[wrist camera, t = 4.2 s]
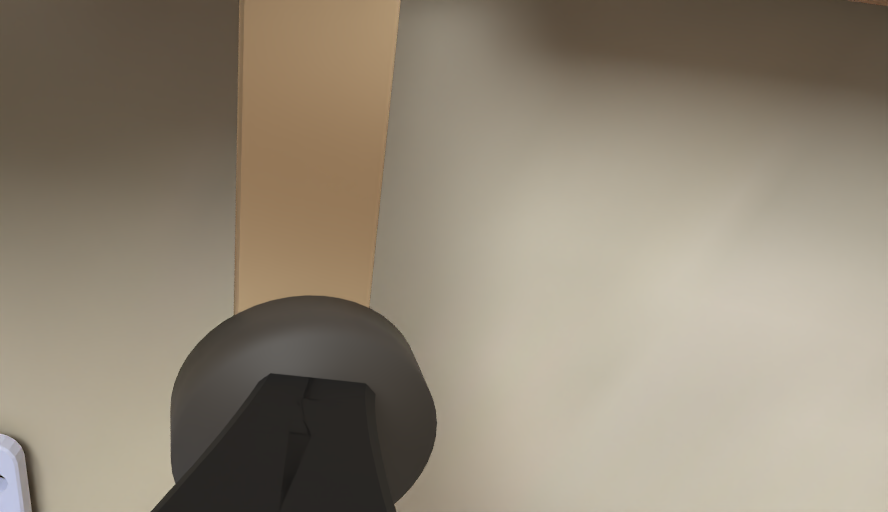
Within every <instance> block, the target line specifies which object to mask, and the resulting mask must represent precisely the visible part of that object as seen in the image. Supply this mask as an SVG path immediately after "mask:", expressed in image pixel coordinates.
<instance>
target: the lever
mask: <svg viewBox="0 0 888 512" xmlns="http://www.w3.org/2000/svg"><path fill="white" fill-rule="evenodd" d="M400 2H401V0H239V44H238V104H237V163H236V222H235V281H234V316H232V317H231V318H229V319H227V320H226V321H224V322H222V323H221V324H220V325H218V326H217V327H216V328H214V329H213V330H212V331H210V332H209V333H208V334H207V335H206V336H205V337H204V338H203V339H202V340H201V341H200V342H199V343H198V344H197V345H196V346H195V348H194V349H193V350H192V351H191V353H190V354H189V355H188V357H187V358H186V360H185V362H184V363H183V365H182V367H181V369H180V371H179V373H178V376H177V378H176V381H175V383H174V387H173V392H172V396H171V465H172V473H173V477H174V480H175V483H177V482H178V481H179V480H180V479H181V478H182V476H183V475H184V474H185V473H186V472H187V471H188V470H189V469H190V468H191V467H192V465H193V464H194V463H195V462H196V461H197V460H198V459H199V457H200V456H201V455H202V454H203V453H204V452H205V450H206V449H207V448H208V447H209V446H210V444H211V443H212V442H213V441H214V440H215V438H216V437H217V436H218V435H219V434H220V432H221V431H222V430H223V429H224V427H225V426H226V425H227V424H228V422H229V421H230V420H231V419H232V417H233V416H234V415H235V413H236V412H237V411H238V410H239V408H240V407H241V406H242V404H243V403H244V402H245V400H246V399H247V398H248V396H249V395H250V393H251V392H252V391H253V389H254V388H255V386H256V385H257V383H258V382H259V381H260V380H262V379H263V378H264V377H266V376H267V375H269V374H270V373H274V374H283V375H293V376H302V377H312V378H321V379H331V380H340V381H349V382H359V383H366V384H367V385H368V386H369V387H370V388H371V389H372V391H373V392H374V393H375V394H376V395H375V413H376V424H377V432H378V438H379V444H380V449H381V454H382V459H383V463H384V468H385V472H386V477H387V481H388V485H389V488H390V492H391V496H392V500H393V503H394V504H395V503H396V502H397V501H398V500H399V499H400V498H401V497H402V496H403V495H404V494H405V493H406V492H407V491H408V490H409V489H410V488H411V487H412V485H413V484H414V483H415V481H416V480H417V479H418V477H419V476H420V474H421V473H422V471H423V469H424V467H425V466H426V464H427V462H428V460H429V457H430V455H431V452H432V449H433V446H434V441H435V437H436V426H437V420H436V410H435V406H434V402H433V398H432V396H431V394H430V391H429V389H428V387H427V384H426V382H425V380H424V378H423V375H422V373H421V371H420V368H419V366H418V364H417V361H416V359H415V357H414V355H413V352H412V350H411V348H410V346H409V344H408V342H407V341H406V339H405V338H404V336H403V335H402V333H401V332H400V331H399V330H398V329H397V328H396V327H395V326H394V325H393V324H392V323H391V322H390V321H388V320H387V319H386V318H385V317H383V316H382V315H381V314H379V313H377V312H375V311H374V310H372V309H370V308H369V303H370V293H371V284H372V274H373V264H374V254H375V245H376V235H377V225H378V216H379V206H380V196H381V186H382V177H383V167H384V157H385V148H386V138H387V128H388V118H389V109H390V99H391V89H392V79H393V70H394V60H395V50H396V41H397V31H398V21H399V11H400Z"/></svg>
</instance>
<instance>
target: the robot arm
mask: <svg viewBox="0 0 888 512" xmlns="http://www.w3.org/2000/svg"><path fill="white" fill-rule="evenodd" d="M375 395H376V394H375V393H374V392H373V391H372V389H371V388H370V387H369V386H368V385H367V384H366V383H359V382H349V381H340V380H331V379H321V378H312V377H302V376H293V375H283V374H274V373H270V374H269V375H267V376H266V377H264V378H263V379H262V380H260V381H259V382H258V383H257V385H256V386H255V388H254V389H253V391H252V392H251V393H250V395H249V396H248V398H247V399H246V400H245V402H244V403H243V404H242V406H241V407H240V408H239V410H238V411H237V412H236V413H235V415H234V416H233V417H232V419H231V420H230V421H229V422H228V424H227V425H226V426H225V427H224V429H223V430H222V431H221V432H220V434H219V435H218V436H217V437H216V438H215V440H214V441H213V442H212V443H211V444H210V446H209V447H208V448H207V449H206V450H205V452H204V453H203V454H202V455H201V456H200V457H199V459H198V460H197V461H196V462H195V463H194V464H193V465H192V467H191V468H190V469H189V470H188V471H187V472H186V473H185V474H184V475H183V476H182V478H181V479H180V480H179V481H178V482H177V483H176V484H175V485H174V486H173V488H172V489H171V490H170V491H169V492H168V493H167V494H166V495H165V496H164V498H163V499H162V500H161V501H160V502H159V503H158V504H157V505H156V506H155V508H154V509H153V510H152V511H151V512H396V509H395V506H394V503H393V500H392V496H391V492H390V488H389V485H388V481H387V477H386V472H385V468H384V463H383V459H382V454H381V449H380V444H379V438H378V432H377V424H376V413H375ZM0 475H2V476H3V477H4V478H5V479H4V478H1V477H0V512H32V508H31V500H30V493H29V485H28V477H27V469H26V462H25V454H24V452H23V449H22V447H21V446H20V445H19V443H18V442H17V441H16V440H15V439H13V438H11V437H9V436H8V435H4V434H0Z"/></svg>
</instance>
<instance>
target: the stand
mask: <svg viewBox="0 0 888 512" xmlns="http://www.w3.org/2000/svg"><path fill="white" fill-rule="evenodd" d="M847 1H854V2H861V3H868V4H876V5H883V6H888V0H847Z"/></svg>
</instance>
